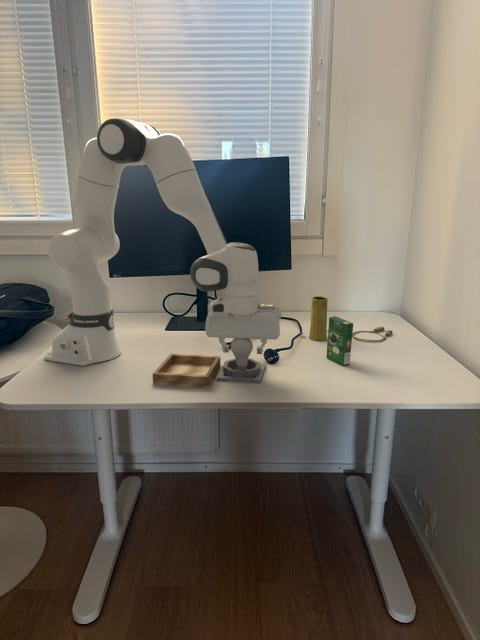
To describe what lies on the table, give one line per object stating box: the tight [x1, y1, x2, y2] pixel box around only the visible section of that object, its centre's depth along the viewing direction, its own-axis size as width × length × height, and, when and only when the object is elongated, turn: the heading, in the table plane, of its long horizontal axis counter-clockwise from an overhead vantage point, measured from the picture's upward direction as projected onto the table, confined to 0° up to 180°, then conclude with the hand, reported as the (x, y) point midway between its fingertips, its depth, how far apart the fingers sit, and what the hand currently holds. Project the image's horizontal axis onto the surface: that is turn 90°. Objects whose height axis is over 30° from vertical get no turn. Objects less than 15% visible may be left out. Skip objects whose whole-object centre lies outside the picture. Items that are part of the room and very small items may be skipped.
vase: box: [308, 295, 328, 342], centre depth 150 cm, size 6×6×14 cm
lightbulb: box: [230, 338, 254, 371], centre depth 122 cm, size 6×6×11 cm
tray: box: [152, 353, 221, 389], centre depth 122 cm, size 15×15×3 cm
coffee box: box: [326, 316, 354, 367], centre depth 129 cm, size 8×3×13 cm, turn 28°
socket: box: [215, 357, 267, 384], centre depth 123 cm, size 12×12×2 cm
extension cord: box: [352, 326, 393, 343], centre depth 154 cm, size 12×16×2 cm
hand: (243, 352), depth 121 cm, fingers open, 8 cm apart
